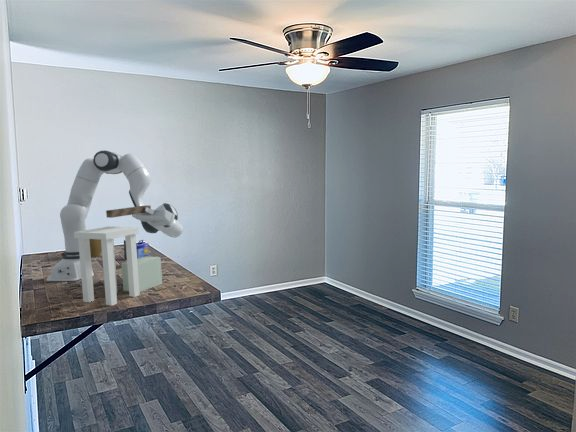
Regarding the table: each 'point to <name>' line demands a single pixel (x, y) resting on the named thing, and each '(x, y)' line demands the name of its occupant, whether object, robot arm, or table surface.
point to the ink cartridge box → (142, 249)
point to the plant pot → (95, 247)
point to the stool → (108, 261)
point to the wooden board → (126, 211)
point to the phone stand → (125, 250)
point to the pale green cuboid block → (144, 273)
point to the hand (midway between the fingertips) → (141, 208)
